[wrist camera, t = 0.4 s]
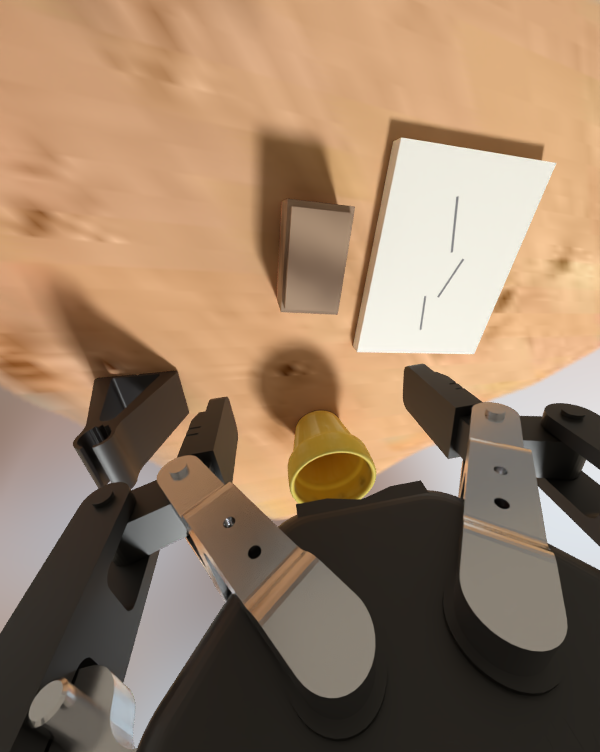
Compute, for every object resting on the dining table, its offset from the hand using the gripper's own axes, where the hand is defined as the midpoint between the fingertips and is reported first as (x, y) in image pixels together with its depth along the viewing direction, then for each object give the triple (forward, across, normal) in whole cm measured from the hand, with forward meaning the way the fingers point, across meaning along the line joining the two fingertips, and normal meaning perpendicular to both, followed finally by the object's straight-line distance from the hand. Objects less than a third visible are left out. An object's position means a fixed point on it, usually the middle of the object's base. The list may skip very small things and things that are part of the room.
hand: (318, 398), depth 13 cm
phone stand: (+21, +18, +8) cm, 29 cm away
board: (+21, -17, -2) cm, 27 cm away
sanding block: (+20, -3, -5) cm, 21 cm away
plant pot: (+22, -2, +19) cm, 29 cm away
